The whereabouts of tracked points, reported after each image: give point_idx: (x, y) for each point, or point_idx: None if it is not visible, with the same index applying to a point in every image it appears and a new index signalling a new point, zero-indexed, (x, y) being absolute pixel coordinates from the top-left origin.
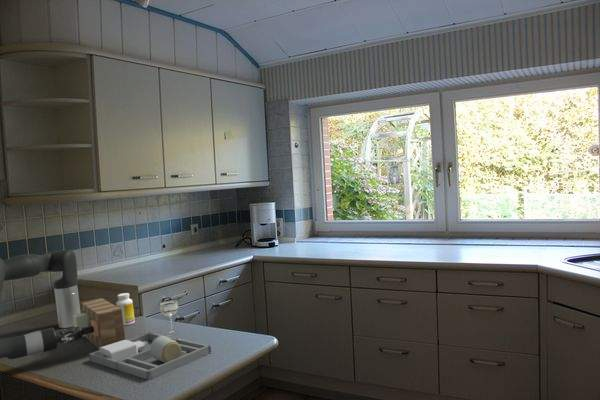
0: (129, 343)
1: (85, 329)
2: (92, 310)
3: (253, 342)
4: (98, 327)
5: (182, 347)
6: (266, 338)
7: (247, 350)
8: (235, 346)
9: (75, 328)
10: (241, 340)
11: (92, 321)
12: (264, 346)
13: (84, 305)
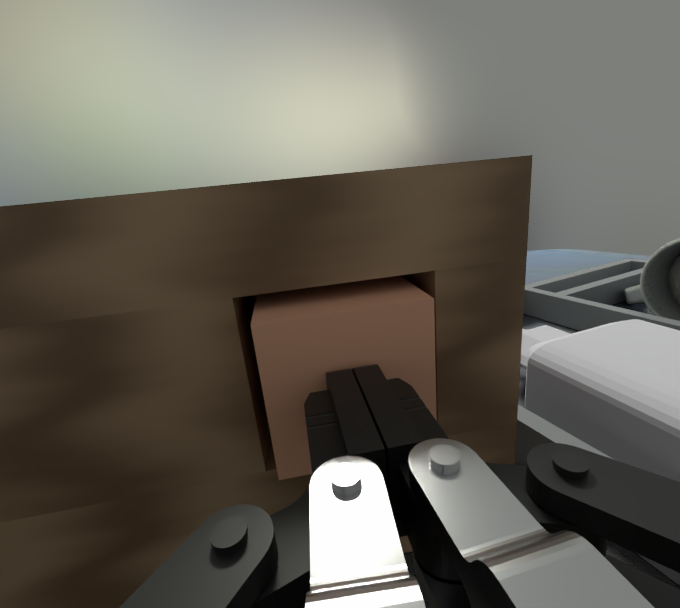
0: (647, 327)
1: (420, 428)
2: (215, 188)
3: (554, 256)
4: (449, 336)
5: (618, 284)
6: (533, 252)
7: (614, 258)
8: (576, 265)
9: (258, 569)
10: (530, 263)
11: (329, 311)
12: (590, 251)
13: None
